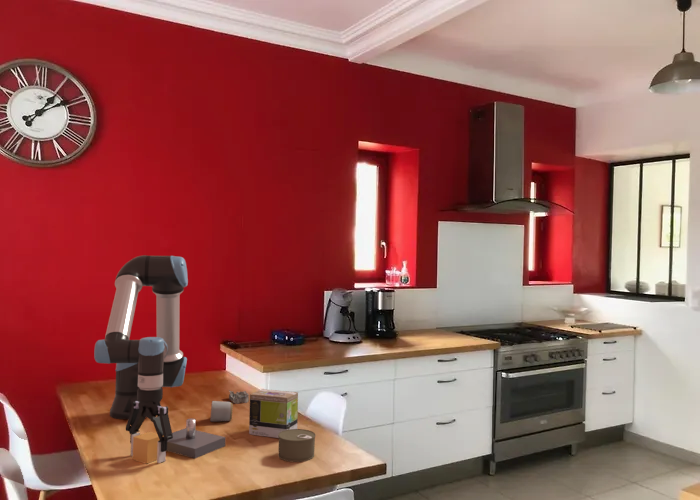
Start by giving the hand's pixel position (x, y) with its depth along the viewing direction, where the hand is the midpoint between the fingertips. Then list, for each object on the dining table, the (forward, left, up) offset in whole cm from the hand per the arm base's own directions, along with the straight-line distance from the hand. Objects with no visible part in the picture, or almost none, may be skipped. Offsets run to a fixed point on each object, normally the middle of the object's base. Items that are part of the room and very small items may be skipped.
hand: (147, 458), depth 179 cm
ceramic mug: (-10, +44, -1) cm, 45 cm away
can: (+37, +28, -1) cm, 46 cm away
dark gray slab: (+3, +15, 0) cm, 15 cm away
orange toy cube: (0, 0, 0) cm, 0 cm away
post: (+3, +15, +3) cm, 16 cm away
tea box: (+17, +42, -1) cm, 45 cm away
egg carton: (-24, +71, -1) cm, 75 cm away
